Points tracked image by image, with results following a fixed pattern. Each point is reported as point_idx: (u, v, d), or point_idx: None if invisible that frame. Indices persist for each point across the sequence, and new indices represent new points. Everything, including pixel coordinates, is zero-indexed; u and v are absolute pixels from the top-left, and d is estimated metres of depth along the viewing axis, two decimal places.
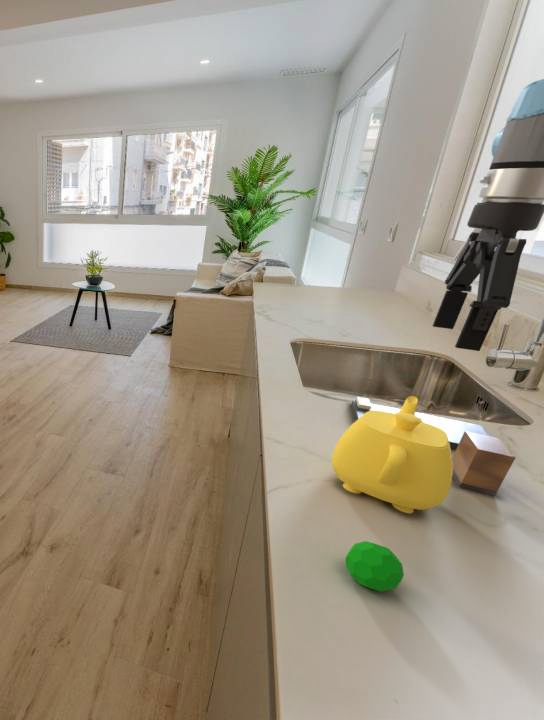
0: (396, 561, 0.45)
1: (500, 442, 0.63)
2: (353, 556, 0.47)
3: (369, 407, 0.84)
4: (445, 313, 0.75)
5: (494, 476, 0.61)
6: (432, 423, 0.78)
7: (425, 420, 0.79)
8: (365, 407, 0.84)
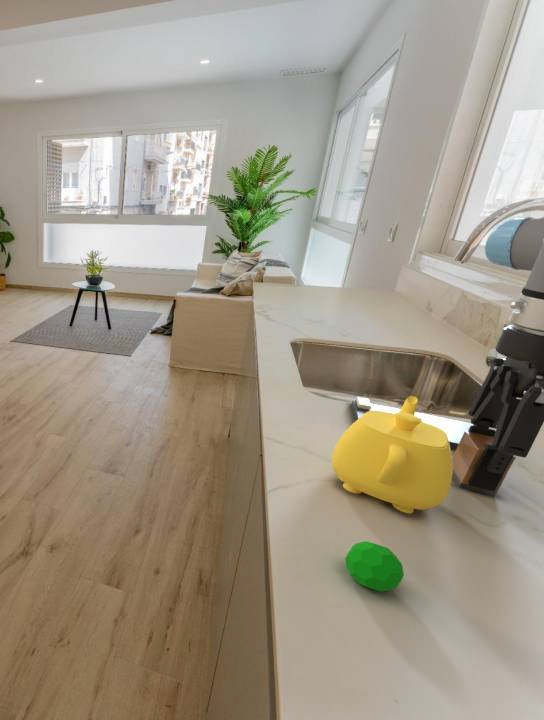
0: (396, 561, 0.45)
1: None
2: (353, 556, 0.47)
3: (369, 407, 0.84)
4: None
5: None
6: (432, 423, 0.78)
7: (425, 420, 0.79)
8: (365, 407, 0.84)
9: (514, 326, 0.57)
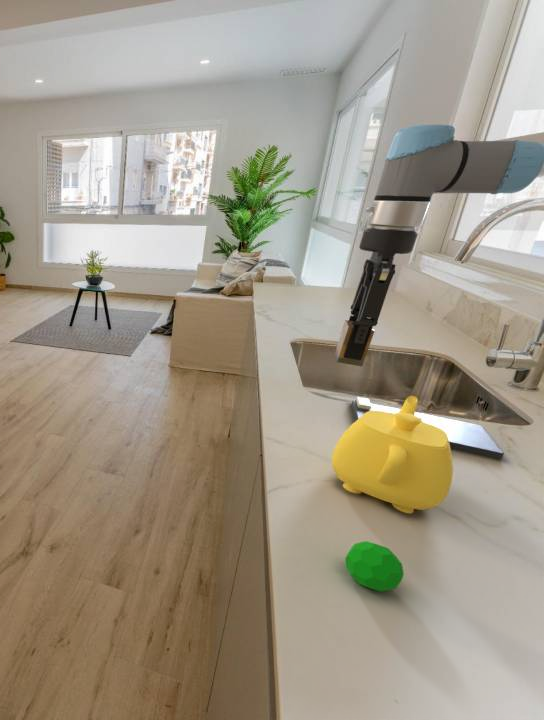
0: (396, 561, 0.45)
1: None
2: (353, 556, 0.47)
3: (369, 407, 0.84)
4: None
5: None
6: (432, 423, 0.78)
7: (425, 420, 0.79)
8: (365, 407, 0.84)
9: (370, 226, 0.75)
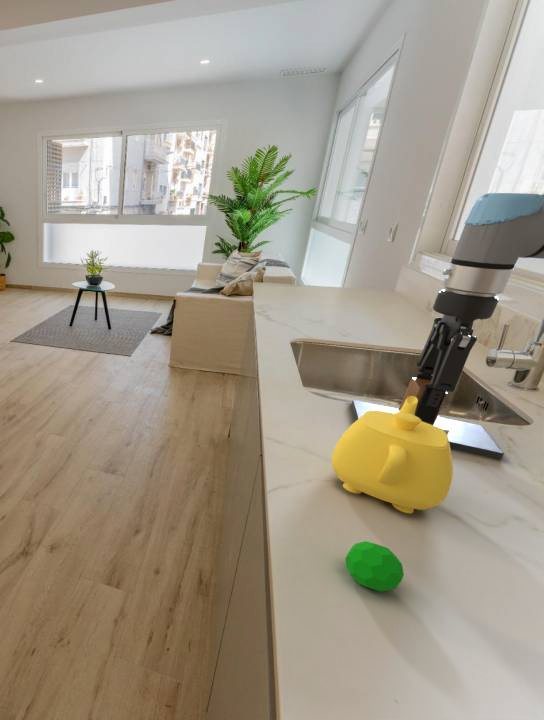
0: (396, 561, 0.45)
1: None
2: (353, 556, 0.47)
3: None
4: None
5: None
6: (442, 425, 0.77)
7: (435, 422, 0.78)
8: None
9: (446, 289, 0.73)
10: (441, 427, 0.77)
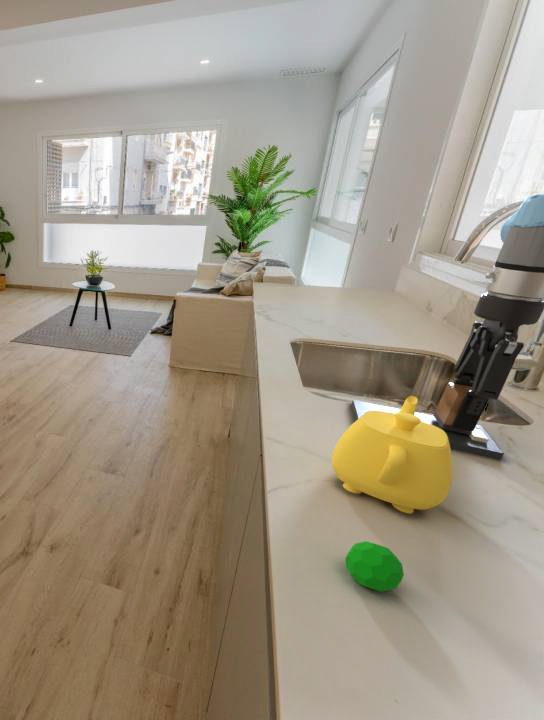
0: (396, 561, 0.45)
1: None
2: (353, 556, 0.47)
3: None
4: None
5: None
6: (481, 433, 0.75)
7: None
8: None
9: (488, 293, 0.70)
10: (480, 435, 0.74)
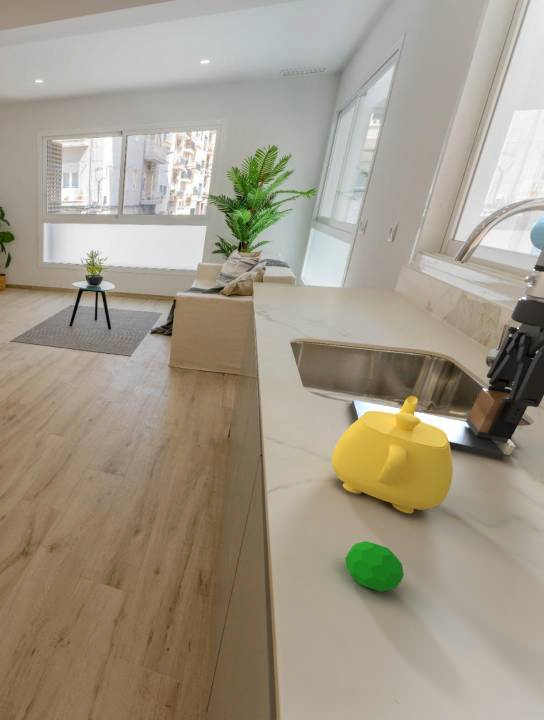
0: (396, 561, 0.45)
1: None
2: (353, 556, 0.47)
3: None
4: None
5: None
6: None
7: None
8: None
9: (527, 297, 0.68)
10: None
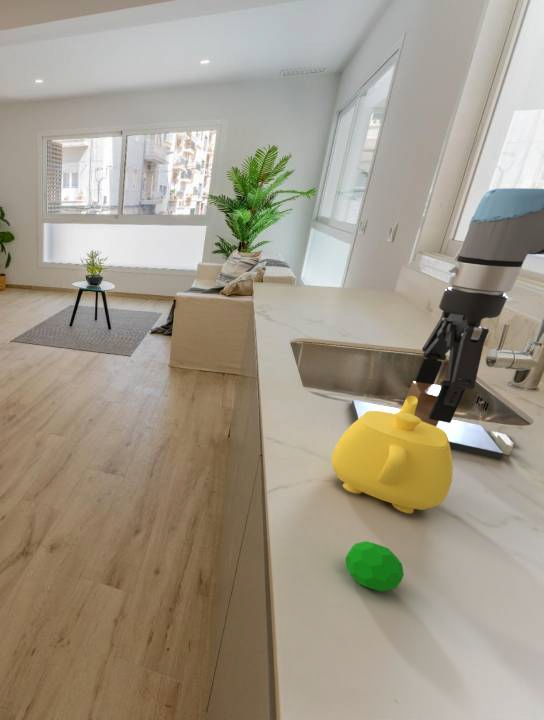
0: (396, 561, 0.45)
1: (439, 388, 0.77)
2: (353, 556, 0.47)
3: None
4: (422, 379, 0.82)
5: None
6: None
7: None
8: None
9: (452, 287, 0.71)
10: None
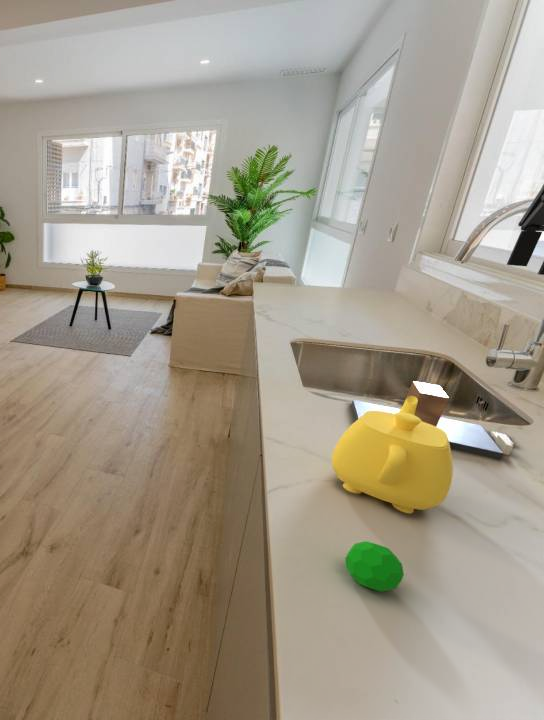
0: (396, 561, 0.45)
1: (439, 388, 0.77)
2: (353, 556, 0.47)
3: None
4: (520, 252, 0.83)
5: (433, 414, 0.75)
6: None
7: None
8: None
9: None
10: None
